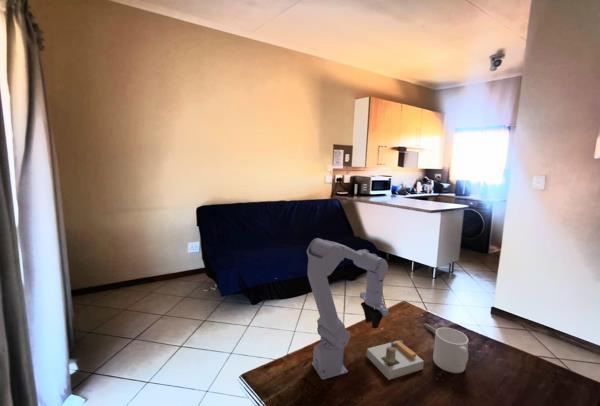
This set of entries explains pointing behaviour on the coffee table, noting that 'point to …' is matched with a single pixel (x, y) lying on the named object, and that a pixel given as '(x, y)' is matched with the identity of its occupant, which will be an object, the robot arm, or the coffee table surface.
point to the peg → (390, 356)
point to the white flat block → (401, 361)
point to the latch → (405, 349)
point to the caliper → (430, 328)
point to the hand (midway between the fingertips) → (372, 324)
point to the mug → (450, 350)
